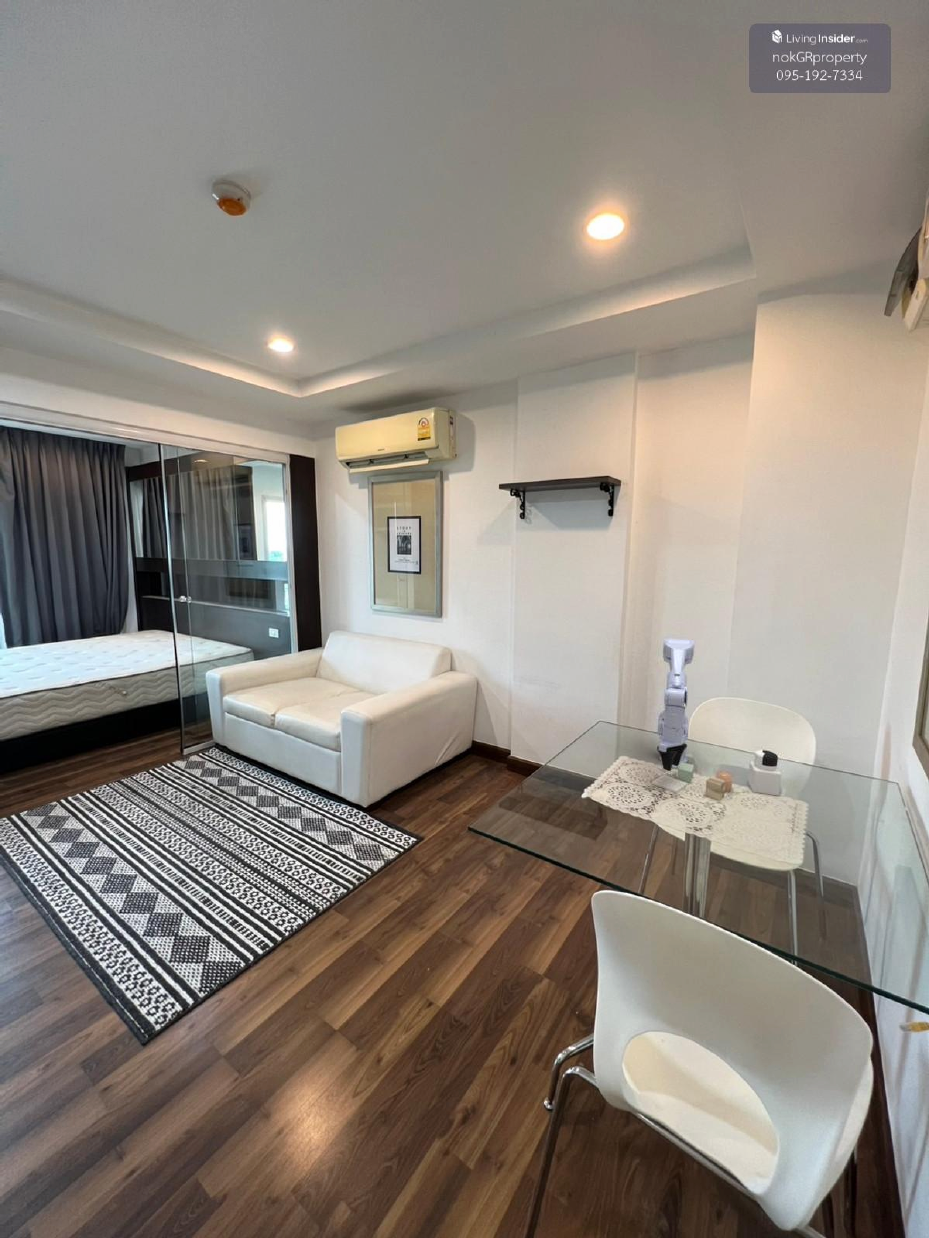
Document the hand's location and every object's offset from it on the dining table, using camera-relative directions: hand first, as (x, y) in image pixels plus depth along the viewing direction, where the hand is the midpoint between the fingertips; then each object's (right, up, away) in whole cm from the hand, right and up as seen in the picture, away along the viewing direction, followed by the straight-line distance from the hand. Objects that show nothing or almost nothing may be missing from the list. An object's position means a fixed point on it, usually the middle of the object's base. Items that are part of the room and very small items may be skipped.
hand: (670, 767), depth 152 cm
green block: (+5, -4, +3) cm, 7 cm away
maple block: (+11, -7, -6) cm, 14 cm away
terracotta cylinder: (+16, -6, -2) cm, 17 cm away
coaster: (0, -6, +1) cm, 6 cm away
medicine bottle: (+28, -7, -1) cm, 29 cm away
